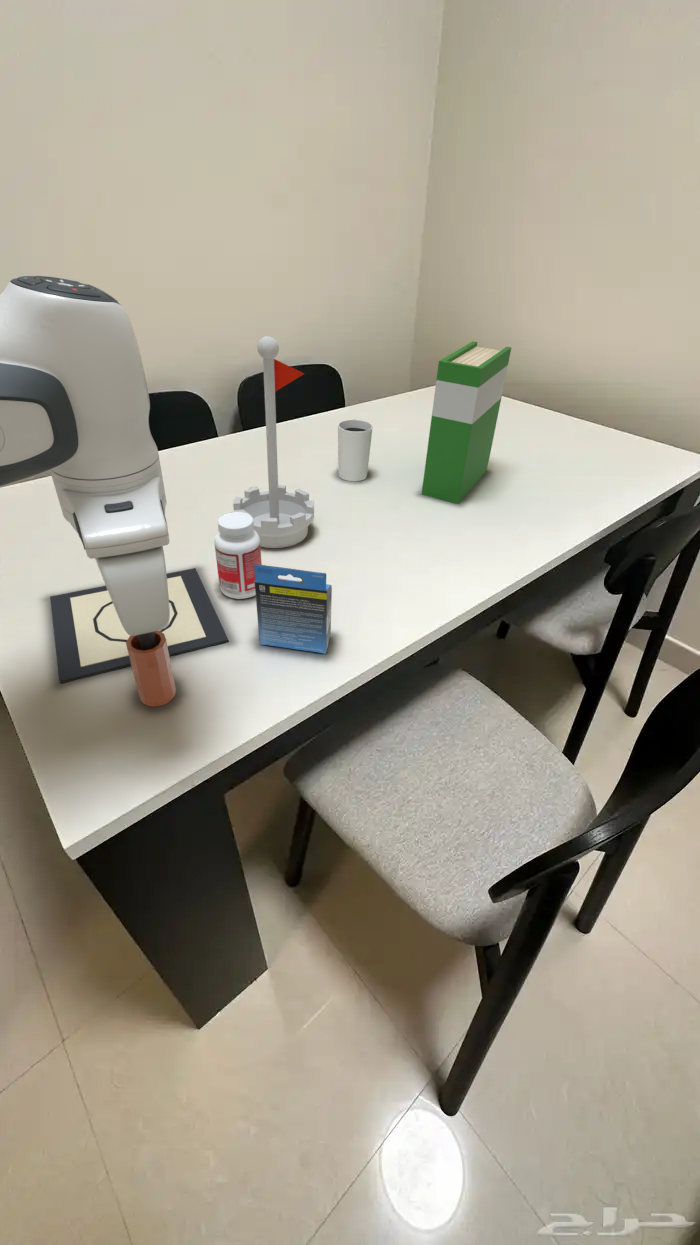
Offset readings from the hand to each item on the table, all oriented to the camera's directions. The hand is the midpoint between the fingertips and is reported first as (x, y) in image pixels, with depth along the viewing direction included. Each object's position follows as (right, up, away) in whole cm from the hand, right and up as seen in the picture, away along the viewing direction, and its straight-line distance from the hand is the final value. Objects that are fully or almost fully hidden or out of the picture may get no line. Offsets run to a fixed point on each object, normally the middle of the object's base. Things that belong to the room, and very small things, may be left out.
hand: (140, 614), depth 60 cm
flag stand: (+9, +14, +38) cm, 41 cm away
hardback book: (+43, +27, +56) cm, 76 cm away
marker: (0, -7, +6) cm, 10 cm away
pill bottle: (+6, +4, +25) cm, 26 cm away
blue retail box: (+14, -3, +16) cm, 22 cm away
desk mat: (-7, 0, +18) cm, 19 cm away
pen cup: (-1, -9, +7) cm, 12 cm away
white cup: (+22, +29, +57) cm, 67 cm away
